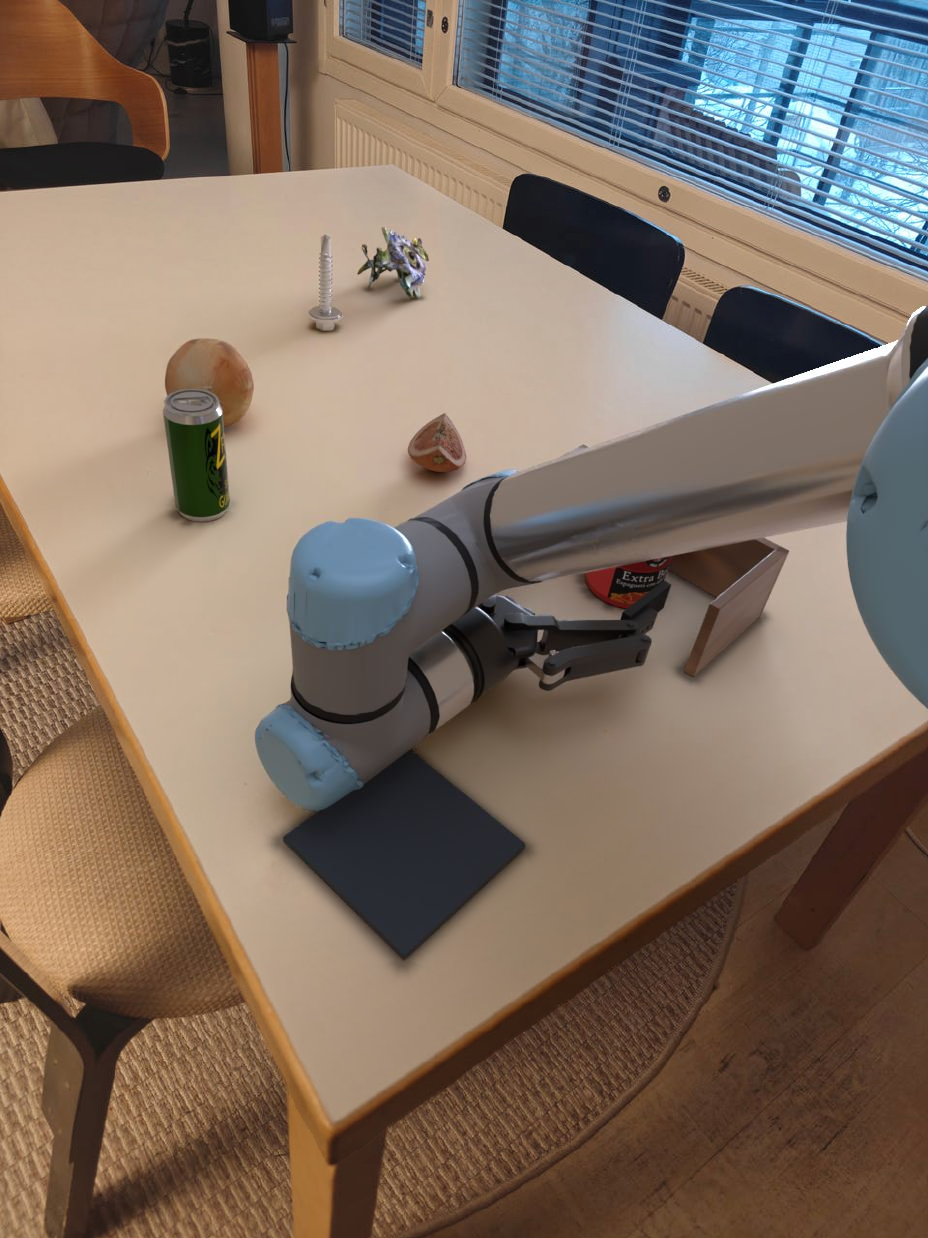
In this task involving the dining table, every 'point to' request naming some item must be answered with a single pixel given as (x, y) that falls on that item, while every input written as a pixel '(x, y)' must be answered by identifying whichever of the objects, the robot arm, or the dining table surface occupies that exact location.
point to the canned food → (628, 581)
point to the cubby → (727, 589)
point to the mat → (405, 850)
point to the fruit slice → (438, 446)
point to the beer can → (197, 454)
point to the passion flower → (399, 262)
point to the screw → (325, 291)
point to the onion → (212, 375)
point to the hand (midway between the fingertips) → (601, 557)
